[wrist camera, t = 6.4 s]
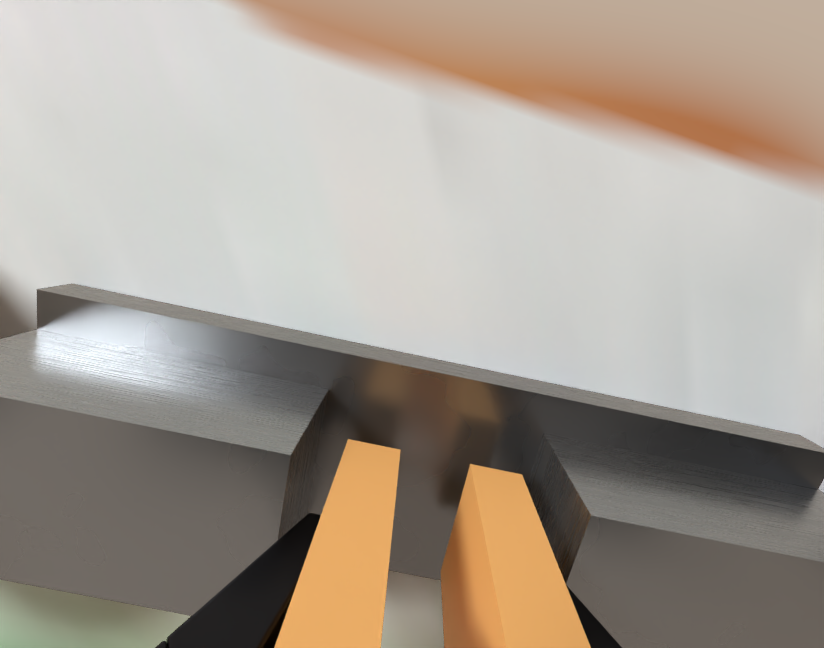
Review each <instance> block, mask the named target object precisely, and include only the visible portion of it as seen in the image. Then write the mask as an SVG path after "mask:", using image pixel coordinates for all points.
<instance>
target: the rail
mask: <svg viewBox="0 0 824 648" xmlns="http://www.w3.org/2000/svg"><path fill="white" fill-rule="evenodd" d="M348 439H351V440H355V441H360V442H365V443H370V444H375V445H380V446H385V447H390V448H395V449H400V450H401V451H400V461H399V470H398V480H397V490H396V500H395V510H394V520H393V530H392V539H391V549H390V559H389V569H388V570H391V571H396V572H401V573H406V574H412V575H417V576H422V577H427V578H432V579H437V580H441V568H442V564H443V561H444V557H445V554H446V550H447V546H448V543H449V539H450V535H451V532H452V528H453V525H454V521H455V517H456V514H457V510H458V506H459V503H460V499H461V496H462V492H463V488H464V485H465V481H466V477H467V474H468V470H469V467H470V464H473V465H478V466H483V467H488V468H493V469H498V470H503V471H507V472H512V473H517V474H522V475H523V478H524V481H525V483H526V486H527V488H528V491H529V493H530V496H531V498H532V501H533V503H534V506H535V508H536V511H537V513H538V516H539V518H540V521H541V523H542V526H543V528H544V531H545V533H546V536H547V538H548V541H549V543H550V546H551V548H552V551H553V554H554V556H555V559H556V561H557V564H558V566H559V569H560V571H561V574H562V576H563V579H564V581H565V584H566V585H567V586H568V587H569V588H570V589H571V591H572V592H573V593H574V594H575V595H576V596H577V597H578V598H579V600H580V601H581V602H582V603H583V604H584V605H585V606H586V607H587V609H588V610H589V611H590V612H591V613H592V614H593V615H594V616H595V618H596V619H597V620H598V621H599V622H600V623H601V624H602V625H603V627H604V628H605V629H606V630H607V631H608V632H609V633H610V634H611V636H612V637H613V638H614V639H615V640H616V641H617V642H618V643H619V645H620V646H621V647H622V648H824V493H823V492H822V491H820V490H819V489H818V488H819V487H820V485H821V483H822V481H823V479H824V448H822V447H820V446H818V445H817V444H815V443H813V442H811V441H809V440H808V439H806V438H804V437H802V436H801V435H797V434H792V433H787V432H783V431H778V430H773V429H768V428H763V427H759V426H754V425H749V424H744V423H739V422H735V421H730V420H725V419H720V418H715V417H711V416H706V415H701V414H696V413H691V412H687V411H682V410H677V409H672V408H667V407H663V406H658V405H653V404H648V403H643V402H638V401H634V400H629V399H624V398H619V397H614V396H610V395H605V394H600V393H595V392H590V391H586V390H581V389H576V388H571V387H566V386H562V385H557V384H552V383H547V382H542V381H538V380H533V379H528V378H523V377H518V376H514V375H509V374H504V373H499V372H494V371H490V370H485V369H480V368H475V367H470V366H466V365H461V364H456V363H451V362H446V361H442V360H437V359H432V358H427V357H422V356H418V355H413V354H408V353H403V352H398V351H394V350H389V349H384V348H379V347H374V346H370V345H365V344H360V343H355V342H350V341H346V340H341V339H336V338H331V337H326V336H322V335H317V334H312V333H307V332H302V331H298V330H293V329H288V328H283V327H278V326H273V325H269V324H264V323H259V322H254V321H249V320H245V319H240V318H235V317H230V316H225V315H221V314H216V313H211V312H206V311H201V310H197V309H192V308H187V307H182V306H177V305H173V304H168V303H163V302H158V301H153V300H149V299H144V298H139V297H134V296H129V295H125V294H120V293H115V292H110V291H105V290H101V289H96V288H91V287H86V286H81V285H77V284H66V285H60V286H54V287H48V288H42V289H37V329H36V330H32V331H28V332H25V333H21V334H17V335H13V336H10V337H6V338H2V339H0V579H1V580H7V581H12V582H17V583H22V584H28V585H33V586H38V587H43V588H49V589H54V590H59V591H64V592H70V593H75V594H80V595H85V596H91V597H96V598H101V599H106V600H112V601H117V602H122V603H127V604H133V605H138V606H143V607H148V608H154V609H159V610H164V611H170V612H175V613H180V614H185V615H191V616H192V615H193V614H195V613H196V612H197V611H198V610H199V609H200V608H201V607H202V606H204V605H205V604H206V603H207V602H208V601H209V600H210V599H212V598H213V597H214V596H215V595H216V594H217V593H218V592H220V591H221V590H222V589H223V588H224V587H225V586H226V585H227V584H229V583H230V582H231V581H232V580H233V579H234V578H235V577H237V576H238V575H239V574H240V573H241V572H242V571H243V570H245V569H246V568H247V567H248V566H249V565H250V564H251V563H252V562H254V561H255V560H256V559H257V558H258V557H259V556H260V555H262V554H263V553H264V552H265V551H266V550H267V549H268V548H270V547H271V546H272V545H273V544H274V543H275V542H276V541H277V540H279V539H280V538H281V537H282V536H283V535H284V534H285V533H287V532H288V531H289V530H290V529H291V528H292V527H293V526H294V525H296V524H297V523H298V522H299V521H300V520H301V519H302V518H304V517H305V516H306V515H307V514H309V513H315V514H320V515H321V514H322V511H323V508H324V506H325V503H326V500H327V497H328V494H329V491H330V489H331V486H332V483H333V480H334V477H335V474H336V472H337V469H338V466H339V463H340V460H341V457H342V455H343V452H344V449H345V446H346V443H347V440H348Z"/></svg>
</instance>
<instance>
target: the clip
mask: <svg viewBox="0 0 824 648" xmlns="http://www.w3.org/2000/svg"><path fill="white" fill-rule="evenodd" d="M400 451H401V450H400V449H395V448H390V447H385V446H380V445H375V444H370V443H365V442H360V441H355V440H351V439H348V440H347V443H346V446H345V449H344V452H343V455H342V457H341V460H340V463H339V466H338V469H337V472H336V474H335V477H334V480H333V483H332V486H331V489H330V491H329V494H328V497H327V500H326V503H325V506H324V508H323V511H322V514H321V517H320V520H319V523H318V525H317V528H316V531H315V534H314V537H313V540H312V542H311V545H310V548H309V551H308V554H307V556H306V559H305V562H304V565H303V568H302V571H301V573H300V576H299V579H298V582H297V585H296V588H295V590H294V593H293V596H292V599H291V602H290V605H289V607H288V610H287V613H286V616H285V619H284V622H283V624H282V627H281V630H280V633H279V636H278V639H277V641H276V644H275V647H274V648H381V638H382V628H383V618H384V608H385V599H386V589H387V579H388V569H389V559H390V549H391V539H392V530H393V520H394V510H395V500H396V490H397V480H398V470H399V461H400ZM441 590H442V611H443V631H444V648H591V647H590V644H589V642H588V639H587V637H586V634H585V632H584V629H583V627H582V624H581V621H580V619H579V616H578V614H577V611H576V609H575V606H574V604H573V601H572V599H571V596H570V594H569V591H568V589H567V586H566V584H565V581H564V579H563V576H562V574H561V571H560V569H559V566H558V564H557V561H556V559H555V556H554V554H553V551H552V548H551V546H550V543H549V541H548V538H547V536H546V533H545V531H544V528H543V526H542V523H541V521H540V518H539V516H538V513H537V511H536V508H535V506H534V503H533V501H532V498H531V496H530V493H529V491H528V488H527V486H526V483H525V481H524V478H523V475H522V474H517V473H512V472H507V471H503V470H498V469H493V468H488V467H483V466H478V465H473V464H470V467H469V470H468V474H467V477H466V481H465V485H464V488H463V492H462V496H461V499H460V503H459V506H458V510H457V514H456V517H455V521H454V525H453V528H452V532H451V535H450V539H449V543H448V546H447V550H446V554H445V557H444V561H443V564H442V568H441Z"/></svg>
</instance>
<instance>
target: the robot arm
mask: <svg viewBox="0 0 824 648" xmlns="http://www.w3.org/2000/svg"><path fill="white" fill-rule="evenodd" d="M320 517H321V515H320V514H315V513H309V514H307V515H306V516H305V517H304V518H302V519H301V520H300V521H299V522H298V523H297V524H296V525H294V526H293V527H292V528H291V529H290V530H289V531H288V532H287V533H285V534H284V535H283V536H282V537H281V538H280V539H279V540H277V541H276V542H275V543H274V544H273V545H272V546H271V547H270V548H268V549H267V550H266V551H265V552H264V553H263V554H262V555H260V556H259V557H258V558H257V559H256V560H255V561H254V562H252V563H251V564H250V565H249V566H248V567H247V568H246V569H245V570H243V571H242V572H241V573H240V574H239V575H238V576H237V577H235V578H234V579H233V580H232V581H231V582H230V583H229V584H227V585H226V586H225V587H224V588H223V589H222V590H221V591H220V592H218V593H217V594H216V595H215V596H214V597H213V598H212V599H210V600H209V601H208V602H207V603H206V604H205V605H204V606H202V607H201V608H200V609H199V610H198V611H197V612H196V613H195V614H193V615H192V616H191V617H190V618H189V619H188V620H187V621H185V622H184V623H183V624H182V625H181V626H180V627H179V628H177V629H176V630H175V631H174V632H173V633H172V634H171V635H170V636H168V638H167V641H163V642H161V643H160V644H159V645H158V646H157V647H156V648H274V647H275V644H276V641H277V639H278V636H279V633H280V630H281V627H282V624H283V622H284V619H285V616H286V613H287V610H288V607H289V605H290V602H291V599H292V596H293V593H294V590H295V588H296V585H297V582H298V579H299V576H300V573H301V571H302V568H303V565H304V562H305V559H306V556H307V554H308V551H309V548H310V545H311V542H312V540H313V537H314V534H315V531H316V528H317V525H318V523H319V520H320ZM566 586H567V585H566ZM567 589H568V591H569V594H570V596H571V599H572V601H573V604H574V606H575V609H576V611H577V614H578V616H579V619H580V621H581V624H582V627H583V629H584V632H585V634H586V637H587V639H588V642H589V644H590V647H591V648H622V647H621V646H620V645H619V643H618V642H617V641H616V640H615V639H614V638H613V637H612V636H611V634H610V633H609V632H608V631H607V630H606V629H605V628H604V627H603V625H602V624H601V623H600V622H599V621H598V620H597V619H596V618H595V616H594V615H593V614H592V613H591V612H590V611H589V610H588V609H587V607H586V606H585V605H584V604H583V603H582V602H581V601H580V600H579V598H578V597H577V596H576V595H575V594H574V593H573V592H572V591H571V589H570V588H569V587H568V586H567Z"/></svg>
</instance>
